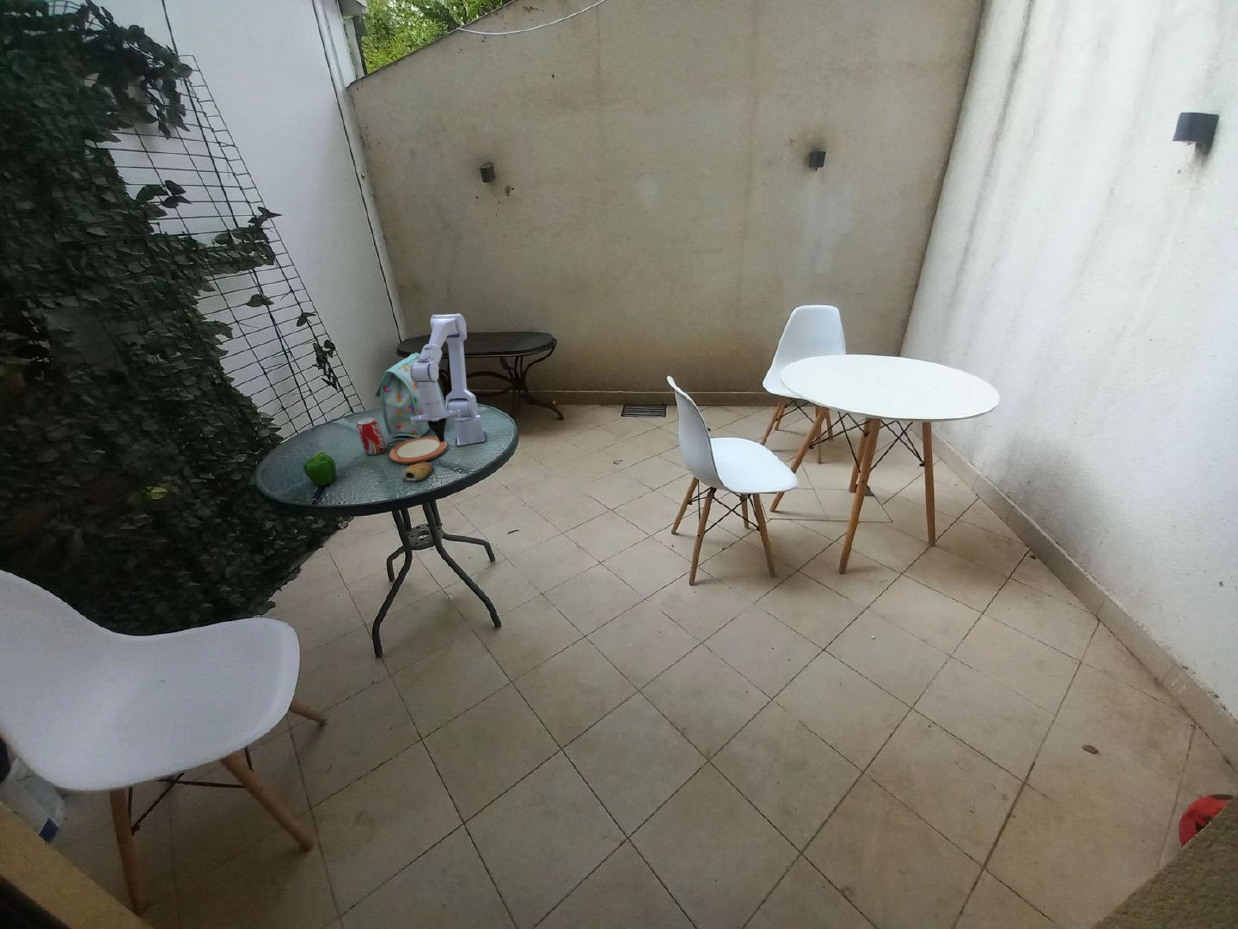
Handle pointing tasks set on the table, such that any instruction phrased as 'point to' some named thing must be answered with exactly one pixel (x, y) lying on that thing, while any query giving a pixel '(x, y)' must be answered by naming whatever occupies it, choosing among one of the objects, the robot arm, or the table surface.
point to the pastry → (417, 471)
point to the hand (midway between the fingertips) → (442, 440)
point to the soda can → (370, 435)
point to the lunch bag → (402, 400)
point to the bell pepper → (320, 469)
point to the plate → (417, 450)
